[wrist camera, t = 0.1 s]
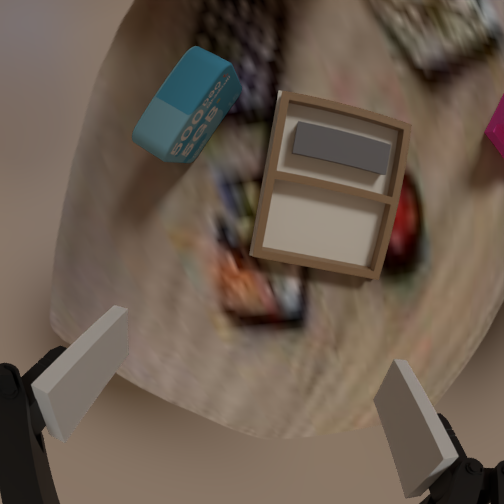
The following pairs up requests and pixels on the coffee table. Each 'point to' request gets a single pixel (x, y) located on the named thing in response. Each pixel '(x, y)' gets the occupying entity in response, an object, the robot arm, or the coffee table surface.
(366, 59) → the coffee table surface
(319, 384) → the coffee table surface
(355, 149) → the rubber bar
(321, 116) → the slot board
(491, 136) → the pink plastic figure
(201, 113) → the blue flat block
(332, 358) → the coffee table surface
